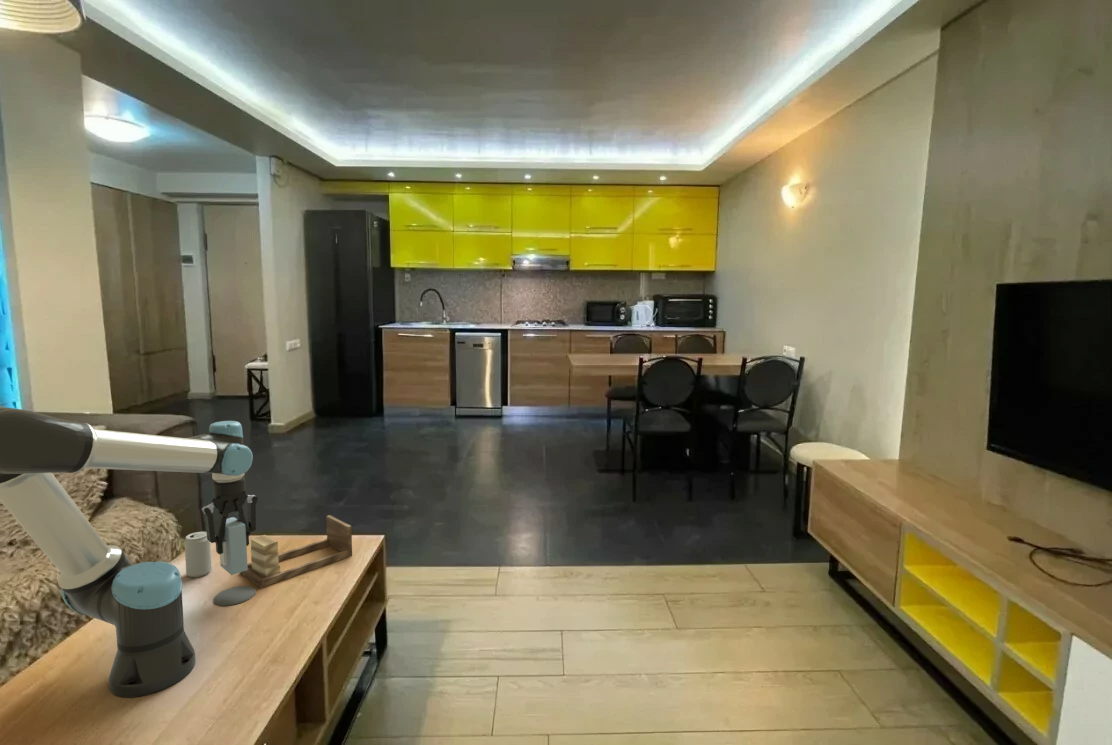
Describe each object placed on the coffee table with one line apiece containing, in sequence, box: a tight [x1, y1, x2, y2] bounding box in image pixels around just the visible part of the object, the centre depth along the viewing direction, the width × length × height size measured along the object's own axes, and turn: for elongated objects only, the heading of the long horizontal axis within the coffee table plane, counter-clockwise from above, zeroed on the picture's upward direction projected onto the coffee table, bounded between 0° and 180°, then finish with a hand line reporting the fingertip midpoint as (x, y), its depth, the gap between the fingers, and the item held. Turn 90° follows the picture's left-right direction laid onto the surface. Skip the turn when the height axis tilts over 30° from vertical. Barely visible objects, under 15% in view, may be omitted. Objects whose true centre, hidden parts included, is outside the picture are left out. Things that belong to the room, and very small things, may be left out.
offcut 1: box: [250, 534, 279, 556], centre depth 163 cm, size 4×8×3 cm, turn 54°
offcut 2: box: [250, 548, 280, 569], centre depth 164 cm, size 4×9×4 cm, turn 51°
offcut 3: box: [250, 560, 281, 579], centre depth 164 cm, size 4×10×4 cm, turn 51°
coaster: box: [213, 585, 256, 607], centre depth 152 cm, size 10×10×1 cm
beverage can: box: [184, 531, 212, 578], centre depth 164 cm, size 6×6×12 cm
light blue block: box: [219, 516, 248, 576], centre depth 150 cm, size 4×8×13 cm, turn 50°
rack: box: [239, 514, 353, 589], centre depth 171 cm, size 28×14×10 cm, turn 140°
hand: (233, 560), depth 151 cm, fingers closed on light blue block, 4 cm apart
